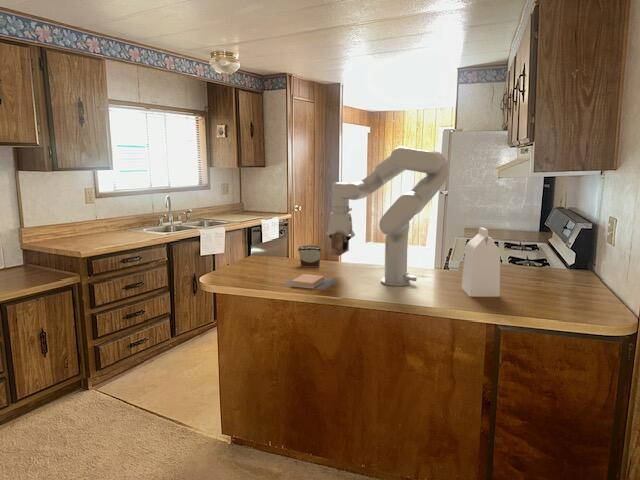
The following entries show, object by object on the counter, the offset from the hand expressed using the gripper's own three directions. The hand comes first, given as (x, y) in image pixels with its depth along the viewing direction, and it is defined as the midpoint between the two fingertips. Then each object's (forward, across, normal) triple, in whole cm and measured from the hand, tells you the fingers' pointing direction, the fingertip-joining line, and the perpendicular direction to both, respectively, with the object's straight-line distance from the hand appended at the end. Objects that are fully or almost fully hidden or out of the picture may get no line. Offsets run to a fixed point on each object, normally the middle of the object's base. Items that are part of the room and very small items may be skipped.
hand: (340, 249), depth 206 cm
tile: (+11, +8, +12) cm, 18 cm away
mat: (+13, +8, +16) cm, 21 cm away
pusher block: (+2, 0, 0) cm, 2 cm away
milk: (+12, -61, +2) cm, 63 cm away
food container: (+13, +22, -15) cm, 29 cm away
